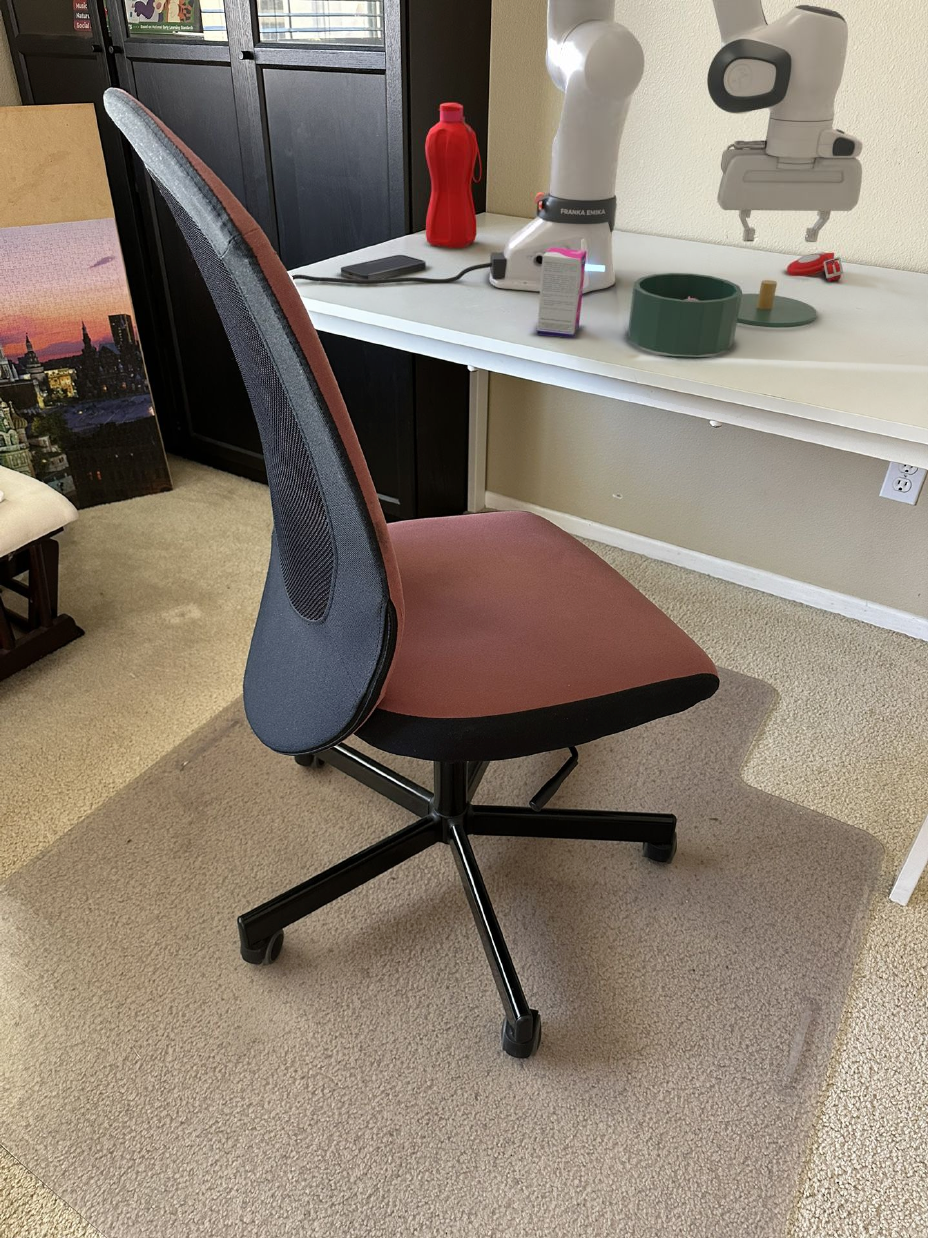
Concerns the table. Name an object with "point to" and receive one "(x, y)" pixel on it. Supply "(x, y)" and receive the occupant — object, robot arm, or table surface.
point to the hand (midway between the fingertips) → (779, 241)
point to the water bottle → (451, 179)
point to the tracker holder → (817, 266)
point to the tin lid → (773, 309)
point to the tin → (684, 314)
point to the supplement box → (561, 292)
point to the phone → (383, 267)
